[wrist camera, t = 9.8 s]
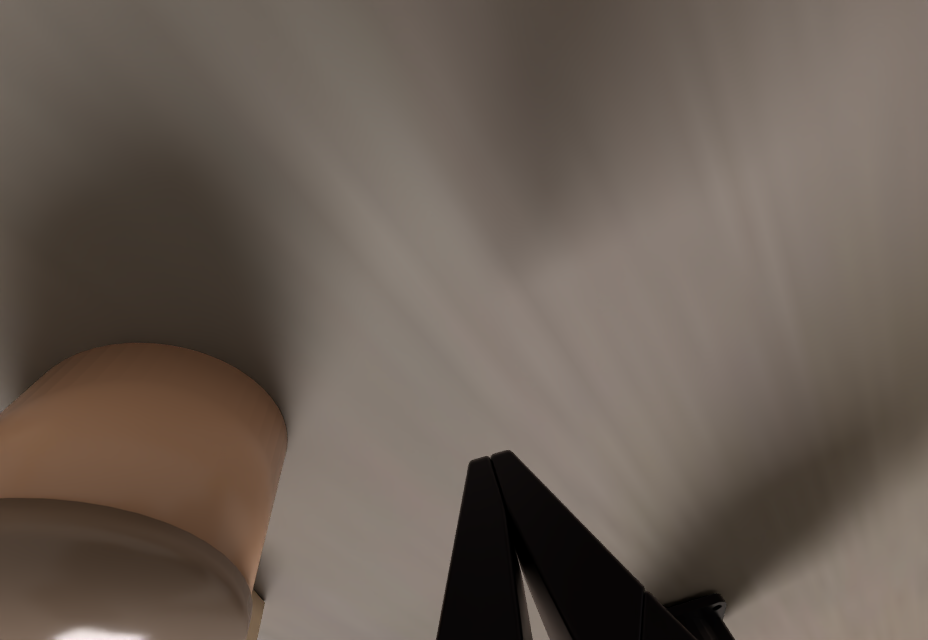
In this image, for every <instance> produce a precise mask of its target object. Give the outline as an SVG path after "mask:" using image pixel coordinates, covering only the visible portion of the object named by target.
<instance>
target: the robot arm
mask: <svg viewBox="0 0 928 640" xmlns="http://www.w3.org/2000/svg"><path fill="white" fill-rule="evenodd" d="M518 560H519V561H518ZM519 563H520V566H521V569H522V572H523V575H524V577H525V580H526V582H527V585H528V587H529V590H530V592H531V595H532V597H533V599H534V602H535V604H536V607H537V609H538V612H539V614H540V617H541V619H542V621H543V624H544V626H545V629H546V631H547V634H548V636H549V638H550V640H735V639H734V637H733V636H732V634H731V633H730V631H729V630H728V628H727V627H726V625H725V623H724V622H723V617H724V613H725V609H726V605H727V604H726V602H725V600H724V599H723V597H722V596H721V595H720V594H717V593H716V594H712V595H708V596H705V597H702V598H699V599H696V600H692V601H689V602H686V603H683V604H680V605H676V606H673V607H670V608H667V609H665V607H664V606H663V605H662V604H661V603H660V602H659V601H658V600H657V599H656V598H655V597H654V596H653V595H652V594H651V593H650V592H648V591H646V592H645V588H644V586H643V585H642V584H641V583H640V582H639V581H638V580H637V579H636V578H635V577H634V576H633V575H632V574H631V573H630V572H629V571H628V570H627V569H626V568H625V567H624V566H623V565H622V564H621V563H620V562H619V561H618V560H617V559H616V558H615V557H614V556H613V555H612V554H611V553H610V551H609V550H608V549H607V548H606V547H605V546H604V545H603V544H602V543H601V542H600V541H599V540H598V539H597V538H596V537H595V536H594V535H593V534H592V533H591V532H590V531H589V530H588V529H587V528H586V527H585V526H584V525H583V524H582V523H581V522H580V521H579V520H578V519H577V518H576V517H575V516H574V515H573V514H572V513H571V512H570V511H569V509H568V508H567V507H566V506H565V505H564V504H563V503H562V502H561V501H560V500H559V499H558V498H557V497H556V496H555V495H554V494H553V493H552V492H551V491H550V490H549V489H548V488H547V487H546V486H545V485H544V484H543V483H542V482H541V481H540V480H539V479H538V478H537V477H536V476H535V475H534V474H533V473H532V472H531V471H530V470H529V469H528V468H527V466H526V465H525V464H524V463H523V462H522V461H521V460H520V459H519V458H518V457H517V456H516V455H515V454H514V453H513V452H511V451H510V450H505V451H502V452H498V453H495V454H492V456H491V459H490V457H488V456H484V457H481V458H477V459H474V460H471V461H470V463H469V465H468V470H467V476H466V481H465V487H464V492H463V497H462V503H461V508H460V513H459V519H458V524H457V530H456V535H455V540H454V546H453V551H452V557H451V562H450V567H449V573H448V578H447V584H446V589H445V594H444V600H443V605H442V610H441V616H440V621H439V627H438V632H437V637H436V640H533V639H532V633H531V627H530V621H529V615H528V609H527V603H526V597H525V591H524V585H523V580H522V575H521V570H520V566H519Z"/></svg>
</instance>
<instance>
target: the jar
mask: <svg viewBox="0 0 928 640" xmlns="http://www.w3.org/2000/svg"><path fill="white" fill-rule="evenodd" d="M287 441H288V439H287V429H286V426H285V422H284V419H283V417H282V414H281V412H280V410H279V408H278V407H277V405H276V404H275V402H274V401H273V399H272V398H271V397H270V396H269V395H268V393H267V392H266V391H265V390H264V389H263V388H262V387H261V386H260V385H259V384H257V383H256V382H255V381H254V380H253V379H252V378H250V377H249V376H247V375H246V374H244V373H243V372H241V371H240V370H238V369H237V368H235V367H233V366H231V365H229V364H227V363H226V362H224V361H222V360H219V359H217V358H214V357H212V356H209V355H207V354H204V353H201V352H197V351H194V350H191V349H187V348H182V347H177V346H172V345H165V344H156V343H122V344H112V345H107V346H102V347H97V348H93V349H90V350H86V351H83V352H80V353H77V354H75V355H73V356H71V357H69V358H67V359H65V360H63V361H61V362H60V363H58V364H57V365H55V366H54V367H53V368H51V369H50V370H49V371H47V372H46V373H45V374H44V375H43V376H42V377H41V378H40V379H38V380H37V381H36V382H35V383H34V384H33V385H32V386H31V387H29V388H28V389H27V390H26V391H25V392H24V393H23V394H22V395H20V396H19V397H18V398H17V399H16V400H15V401H14V402H13V403H11V404H10V405H9V406H8V407H7V408H6V409H5V410H4V411H2V412H1V413H0V640H246V638H247V634H248V629H249V625H250V621H251V617H252V607H253V601H252V596H251V594H252V590H253V586H254V582H255V578H256V574H257V570H258V565H259V561H260V557H261V553H262V549H263V545H264V541H265V537H266V533H267V529H268V524H269V520H270V516H271V512H272V508H273V504H274V500H275V496H276V492H277V488H278V483H279V479H280V475H281V471H282V467H283V463H284V459H285V455H286V451H287Z"/></svg>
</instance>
